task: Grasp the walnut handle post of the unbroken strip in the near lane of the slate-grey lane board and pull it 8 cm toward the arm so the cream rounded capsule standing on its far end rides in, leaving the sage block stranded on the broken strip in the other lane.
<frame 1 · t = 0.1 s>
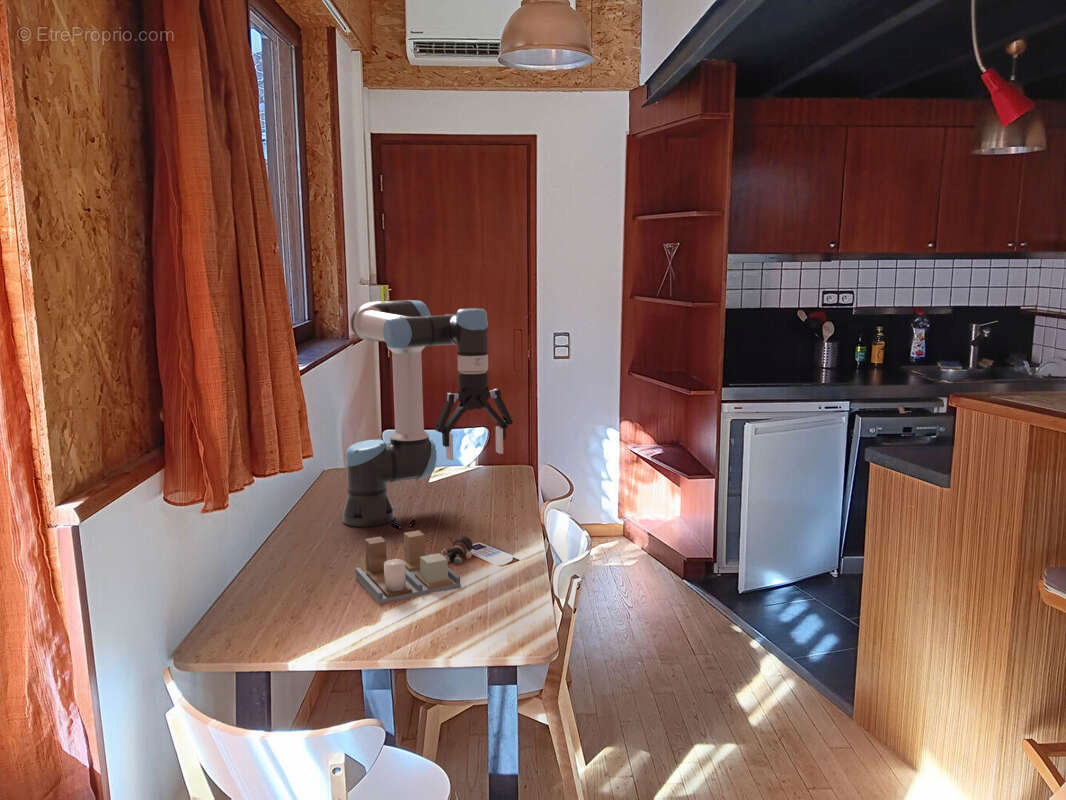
hand: (475, 456, 209), 28 cm above the table, fingers open, 13 cm apart
cream rounded capsule: (395, 587, 194), point 2 cm above the table, touching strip
sage block: (434, 578, 199), point 2 cm above the table, touching lane board
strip: (385, 565, 199), point 5 cm above the table, slide at 0.0 cm, touching cream rounded capsule
figurine: (459, 558, 218), on the table
lane board: (407, 582, 201), on the table
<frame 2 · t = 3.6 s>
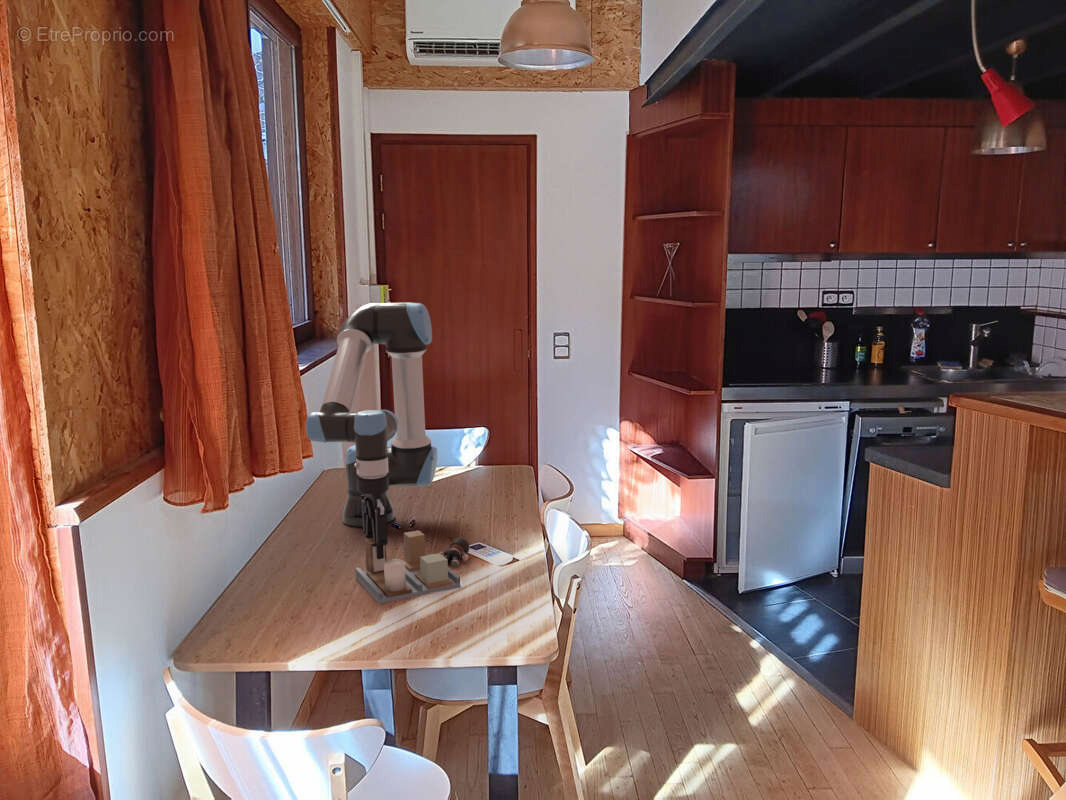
hand: (376, 567, 206), 2 cm above the table, fingers closed on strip, 4 cm apart
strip: (385, 565, 199), point 5 cm above the table, slide at 0.0 cm, touching cream rounded capsule, gripper
figurine: (456, 561, 217), on the table
everything else where it was.
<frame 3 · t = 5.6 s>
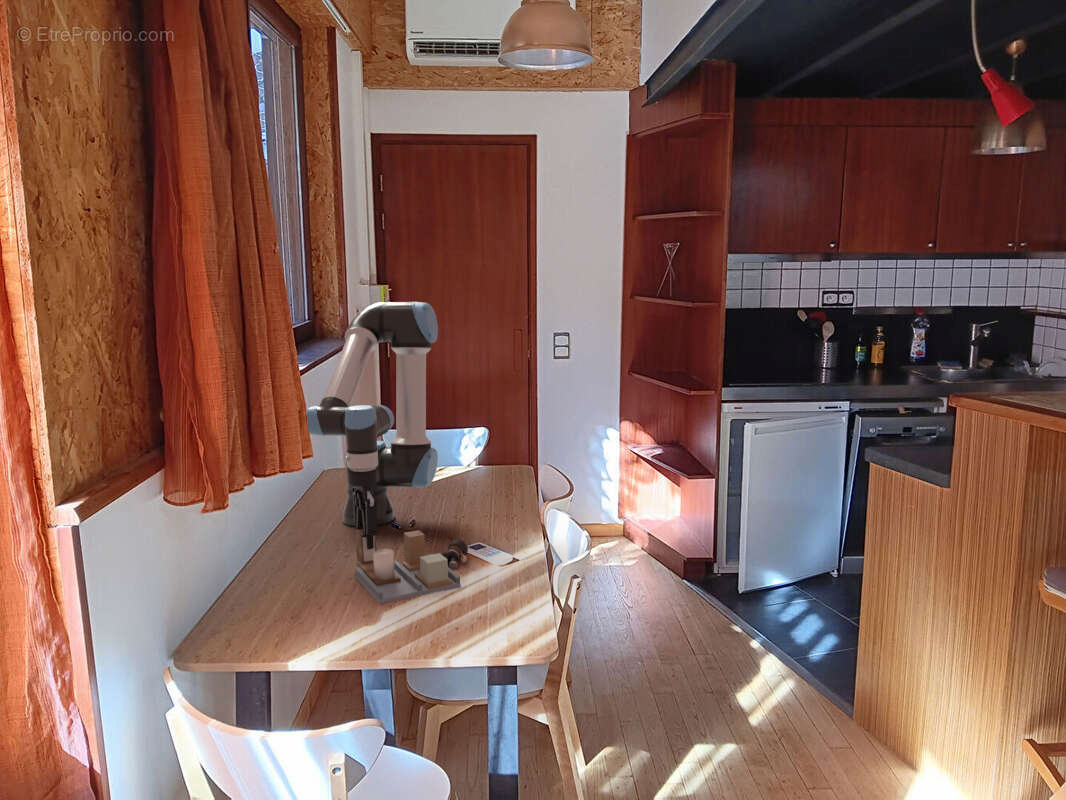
hand: (366, 557, 213), 2 cm above the table, fingers closed on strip, 4 cm apart
cream rounded capsule: (384, 576, 200), point 2 cm above the table, touching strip
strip: (375, 555, 206), point 5 cm above the table, slide at 8.0 cm, touching cream rounded capsule, gripper
figurine: (454, 562, 216), on the table
everything else where it was.
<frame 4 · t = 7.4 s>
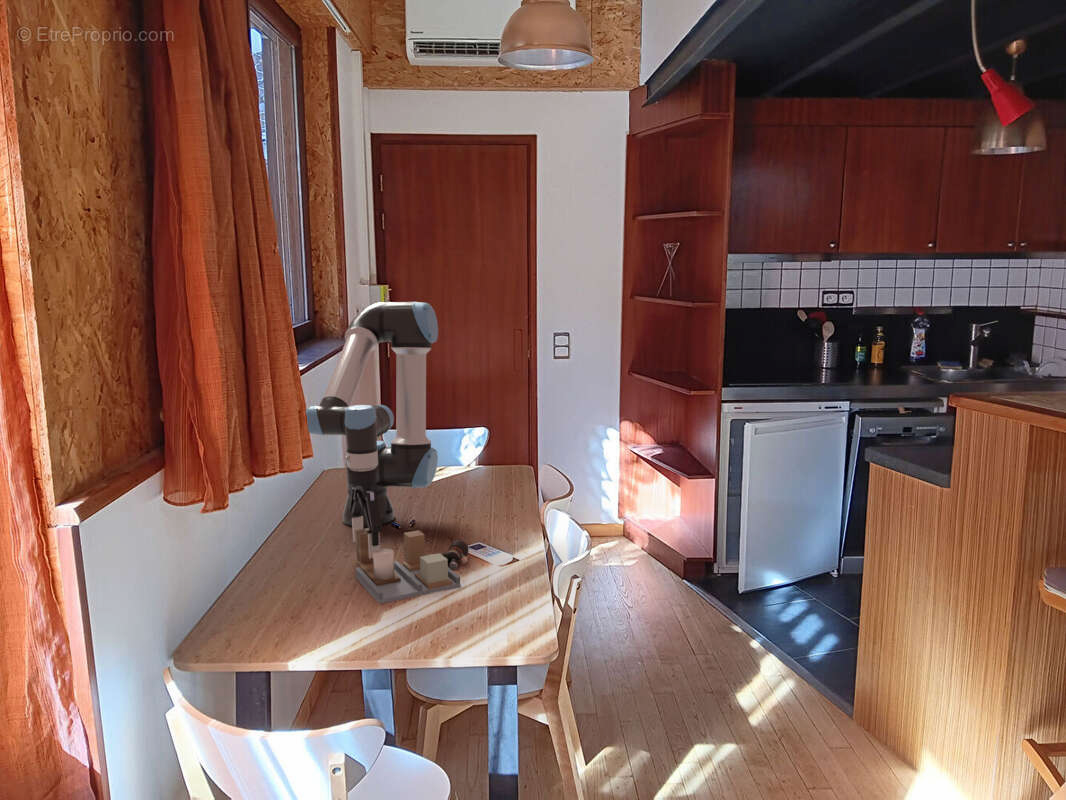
hand: (366, 549, 212), 4 cm above the table, fingers open, 13 cm apart
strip: (375, 555, 206), point 5 cm above the table, slide at 8.0 cm, touching cream rounded capsule
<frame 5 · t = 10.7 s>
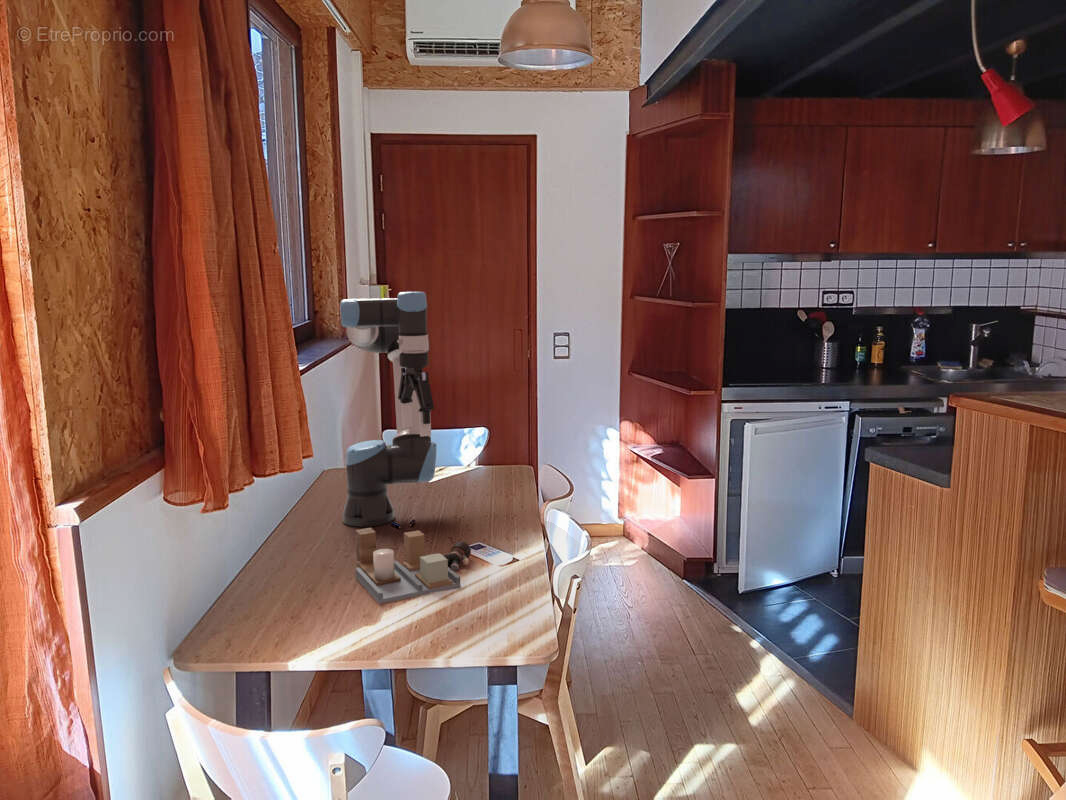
hand: (416, 431, 222), 32 cm above the table, fingers open, 13 cm apart
figurine: (456, 564, 214), on the table
everything else where it was.
at the end: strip slide at 8.0 cm; cream rounded capsule inside the target area (0.0 cm from its centre), point 1.9 cm above the table; cream rounded capsule tilted 0° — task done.
